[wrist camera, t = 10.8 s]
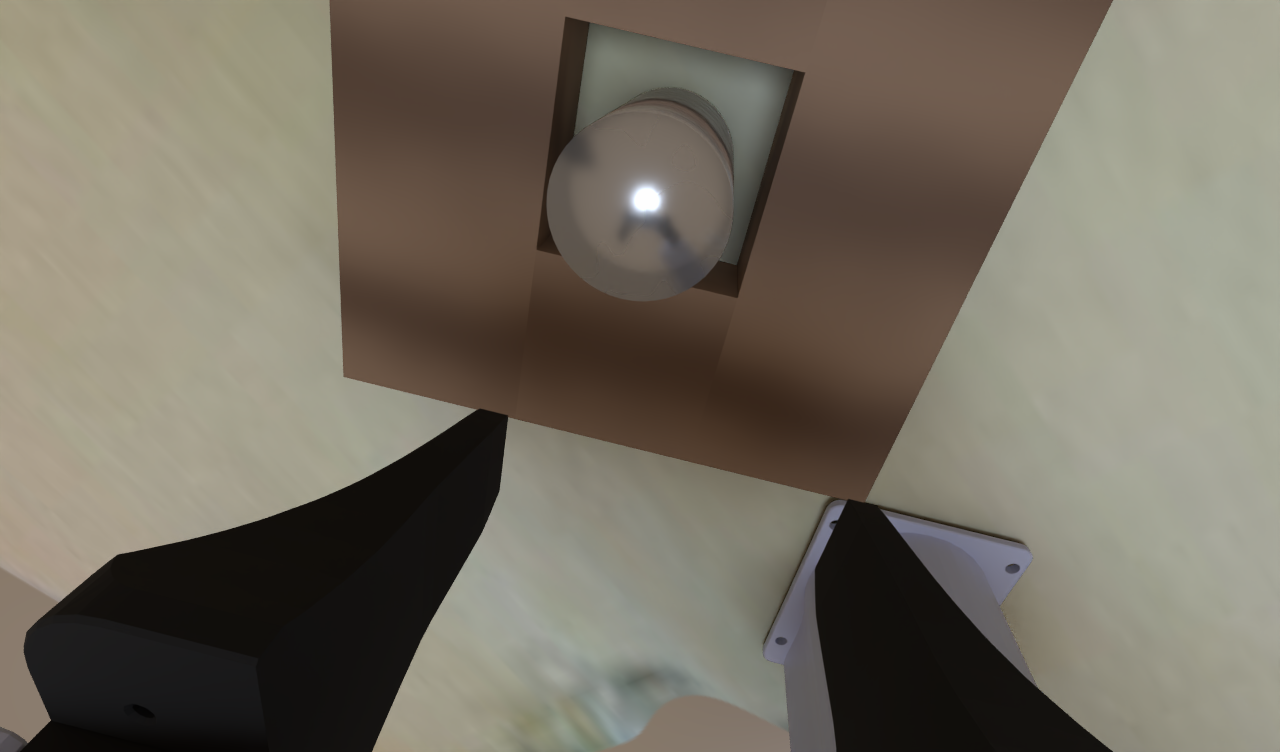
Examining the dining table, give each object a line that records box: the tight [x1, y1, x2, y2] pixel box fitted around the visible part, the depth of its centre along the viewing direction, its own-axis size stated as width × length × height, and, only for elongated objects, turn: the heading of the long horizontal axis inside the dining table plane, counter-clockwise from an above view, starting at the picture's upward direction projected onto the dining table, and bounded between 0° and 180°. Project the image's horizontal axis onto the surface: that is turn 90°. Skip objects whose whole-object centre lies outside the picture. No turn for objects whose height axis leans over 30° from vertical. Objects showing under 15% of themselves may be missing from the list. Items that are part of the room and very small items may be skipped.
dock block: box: [330, 0, 1113, 503], centre depth 18 cm, size 18×18×3 cm
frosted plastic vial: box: [546, 87, 734, 301], centre depth 16 cm, size 4×4×7 cm
